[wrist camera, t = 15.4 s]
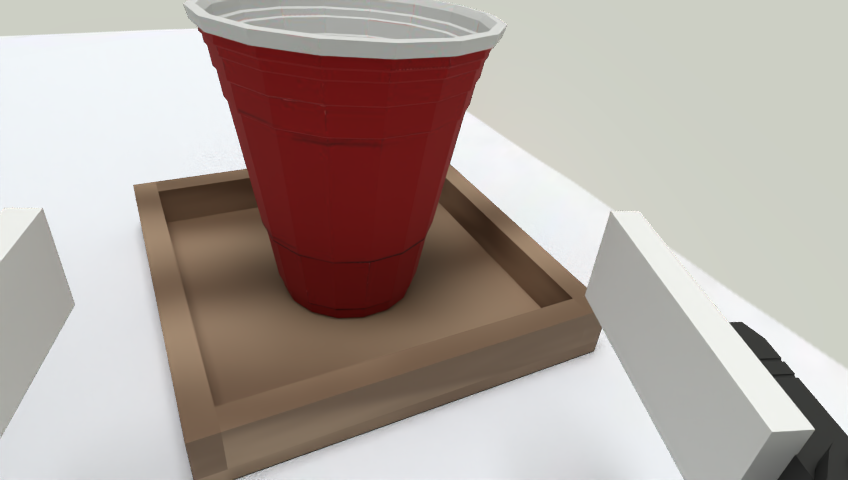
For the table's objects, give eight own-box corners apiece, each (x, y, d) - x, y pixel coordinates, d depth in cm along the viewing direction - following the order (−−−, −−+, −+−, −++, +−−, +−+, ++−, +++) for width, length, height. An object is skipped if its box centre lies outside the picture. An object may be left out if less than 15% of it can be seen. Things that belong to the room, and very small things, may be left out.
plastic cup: (467, 223, 31) (501, -19, 24) (467, 374, 22) (521, 58, 15) (265, 203, 31) (244, -43, 24) (183, 346, 22) (115, 18, 15)
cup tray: (142, 226, 29) (133, 185, 28) (423, 178, 36) (426, 143, 35) (196, 492, 18) (184, 443, 17) (594, 350, 25) (608, 307, 23)
